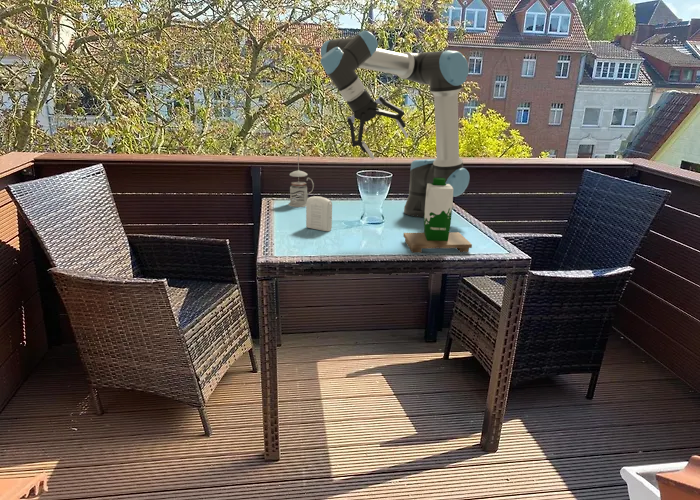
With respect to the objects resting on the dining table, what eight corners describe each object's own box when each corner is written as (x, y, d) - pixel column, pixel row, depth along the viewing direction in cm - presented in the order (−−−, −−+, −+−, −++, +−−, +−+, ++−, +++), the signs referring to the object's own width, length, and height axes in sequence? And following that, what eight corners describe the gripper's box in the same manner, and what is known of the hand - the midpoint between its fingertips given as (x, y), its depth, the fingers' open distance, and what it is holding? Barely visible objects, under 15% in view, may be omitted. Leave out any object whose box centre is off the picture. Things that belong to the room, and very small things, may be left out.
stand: (458, 240, 176) (458, 232, 175) (471, 253, 163) (471, 244, 162) (403, 240, 174) (403, 232, 173) (411, 253, 161) (412, 245, 160)
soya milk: (446, 234, 172) (451, 177, 166) (451, 242, 164) (456, 182, 157) (421, 233, 172) (425, 176, 166) (424, 241, 164) (429, 181, 158)
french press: (289, 201, 228) (288, 146, 220) (314, 202, 228) (314, 147, 220) (286, 206, 219) (285, 149, 211) (312, 207, 219) (312, 150, 211)
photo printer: (333, 229, 186) (334, 197, 182) (327, 232, 182) (328, 199, 178) (310, 225, 191) (310, 194, 187) (304, 228, 187) (304, 196, 183)
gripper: (323, 120, 159) (359, 170, 169) (389, 75, 152) (423, 130, 162) (324, 113, 165) (358, 161, 175) (387, 69, 158) (419, 123, 168)
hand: (389, 146), depth 169 cm, fingers open, 13 cm apart
